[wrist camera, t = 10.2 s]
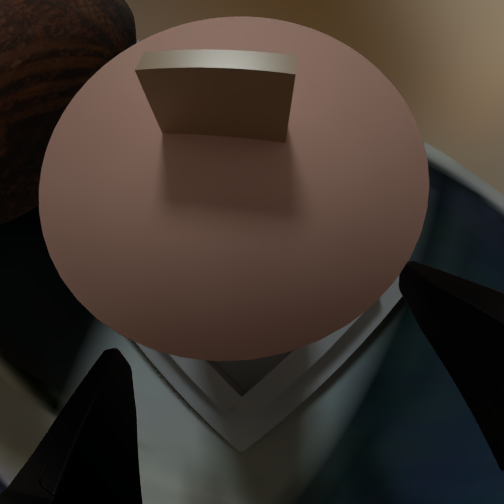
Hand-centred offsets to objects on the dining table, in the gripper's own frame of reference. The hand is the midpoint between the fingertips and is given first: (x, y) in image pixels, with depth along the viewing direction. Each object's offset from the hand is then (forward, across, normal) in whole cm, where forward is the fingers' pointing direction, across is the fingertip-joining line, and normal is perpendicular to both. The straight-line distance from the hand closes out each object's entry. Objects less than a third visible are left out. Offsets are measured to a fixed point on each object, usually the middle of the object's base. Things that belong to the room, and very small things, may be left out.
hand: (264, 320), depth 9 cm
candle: (+7, 0, +4) cm, 8 cm away
